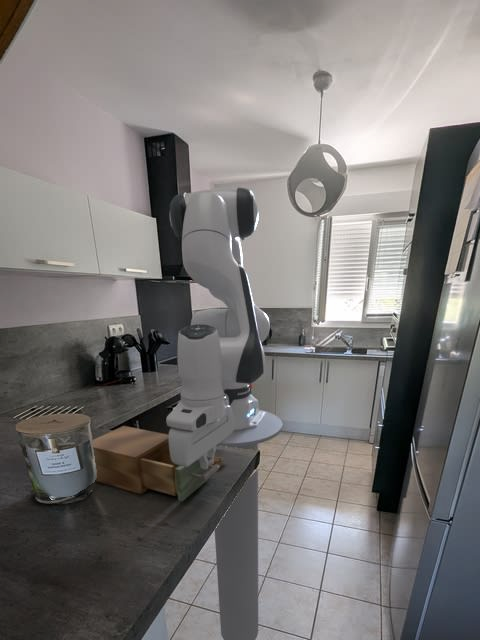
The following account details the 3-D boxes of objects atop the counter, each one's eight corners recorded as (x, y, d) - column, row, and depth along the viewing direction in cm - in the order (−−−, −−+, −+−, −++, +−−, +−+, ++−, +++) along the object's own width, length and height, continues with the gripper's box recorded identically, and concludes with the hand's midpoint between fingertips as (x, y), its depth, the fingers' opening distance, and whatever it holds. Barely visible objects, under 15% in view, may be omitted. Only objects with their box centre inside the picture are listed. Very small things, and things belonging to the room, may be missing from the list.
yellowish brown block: (189, 463, 96) (189, 455, 95) (194, 460, 98) (194, 451, 97) (216, 470, 93) (216, 461, 92) (221, 466, 95) (221, 457, 94)
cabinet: (176, 469, 93) (173, 435, 90) (141, 494, 82) (135, 457, 78) (128, 457, 100) (123, 425, 96) (90, 479, 89) (82, 444, 85)
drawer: (226, 479, 86) (225, 450, 83) (198, 506, 76) (196, 474, 73) (162, 464, 94) (158, 437, 91) (128, 485, 84) (123, 456, 81)
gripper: (215, 392, 84) (218, 445, 89) (160, 421, 67) (167, 484, 73) (239, 395, 81) (240, 450, 87) (187, 426, 64) (193, 491, 70)
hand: (207, 466), depth 79 cm, fingers closed
